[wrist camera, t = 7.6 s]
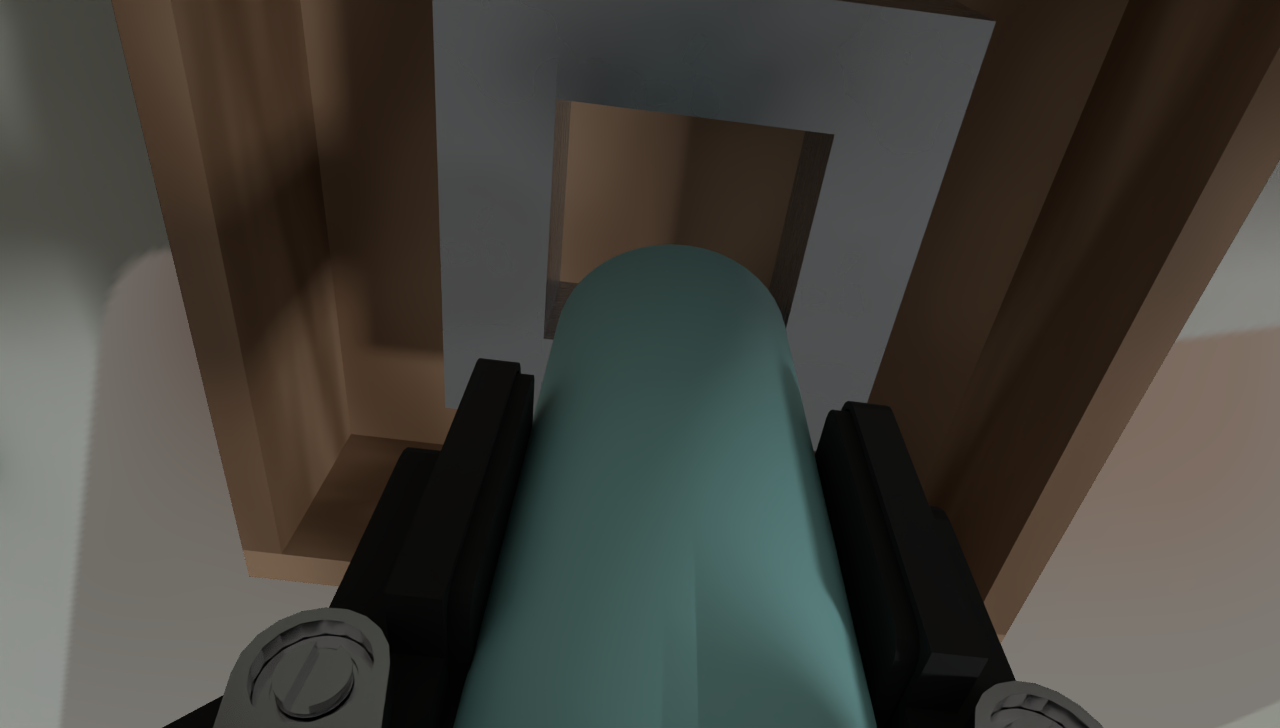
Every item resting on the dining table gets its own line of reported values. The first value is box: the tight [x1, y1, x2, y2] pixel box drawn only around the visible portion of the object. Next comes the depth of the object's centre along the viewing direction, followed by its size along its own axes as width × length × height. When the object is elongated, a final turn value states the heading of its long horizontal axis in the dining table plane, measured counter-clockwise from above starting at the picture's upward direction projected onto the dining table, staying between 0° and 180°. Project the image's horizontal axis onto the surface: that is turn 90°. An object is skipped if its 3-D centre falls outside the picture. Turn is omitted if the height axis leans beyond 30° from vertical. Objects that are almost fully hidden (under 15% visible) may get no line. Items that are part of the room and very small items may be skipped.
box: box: [111, 0, 1280, 644], centre depth 18 cm, size 20×20×6 cm
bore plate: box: [432, 0, 996, 451], centre depth 18 cm, size 10×10×3 cm
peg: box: [453, 244, 877, 728], centre depth 9 cm, size 4×4×10 cm
